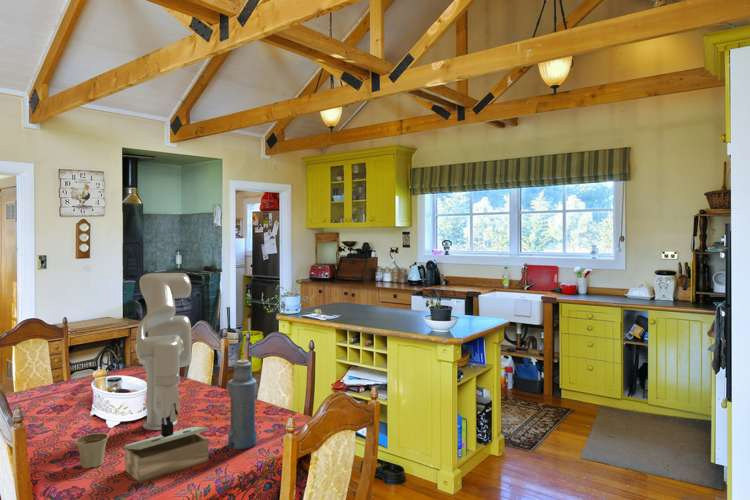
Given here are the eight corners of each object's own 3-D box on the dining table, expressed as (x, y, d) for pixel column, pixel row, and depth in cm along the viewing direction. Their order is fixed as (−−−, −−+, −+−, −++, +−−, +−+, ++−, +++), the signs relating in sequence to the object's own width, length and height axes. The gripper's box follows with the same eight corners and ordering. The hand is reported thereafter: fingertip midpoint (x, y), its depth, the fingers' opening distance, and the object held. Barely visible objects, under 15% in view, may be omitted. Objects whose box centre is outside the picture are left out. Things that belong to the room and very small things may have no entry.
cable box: (125, 470, 162) (125, 448, 162) (192, 450, 178) (191, 430, 178) (139, 483, 154) (139, 460, 154) (208, 460, 169) (208, 439, 169)
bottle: (227, 441, 185) (226, 358, 185) (254, 437, 189) (254, 356, 188) (230, 451, 176) (229, 364, 176) (259, 447, 180) (258, 362, 179)
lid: (125, 448, 162) (124, 444, 162) (191, 430, 178) (191, 426, 178) (139, 449, 154) (138, 445, 154) (208, 430, 169) (207, 426, 169)
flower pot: (84, 458, 171) (84, 433, 171) (113, 457, 172) (113, 432, 172) (70, 471, 162) (69, 444, 161) (101, 470, 162) (100, 443, 162)
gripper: (146, 376, 168) (146, 431, 169) (164, 387, 157) (164, 446, 158) (169, 371, 173) (169, 425, 174) (188, 382, 162) (188, 439, 163)
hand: (167, 435), depth 166 cm, fingers closed
